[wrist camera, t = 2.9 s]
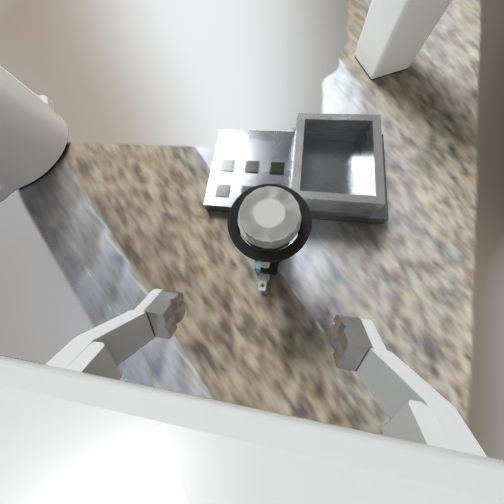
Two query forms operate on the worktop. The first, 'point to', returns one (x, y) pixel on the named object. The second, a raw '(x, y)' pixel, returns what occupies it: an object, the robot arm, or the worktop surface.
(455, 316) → the worktop surface
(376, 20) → the white bottle
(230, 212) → the push button
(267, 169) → the organizer
